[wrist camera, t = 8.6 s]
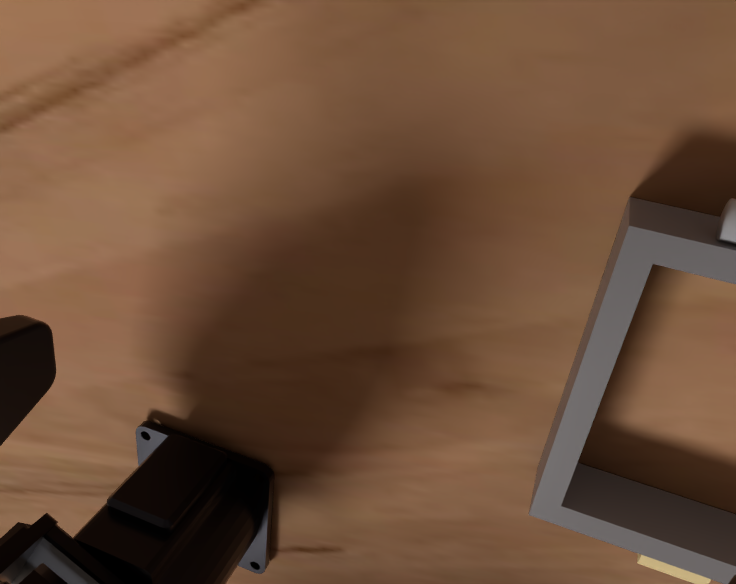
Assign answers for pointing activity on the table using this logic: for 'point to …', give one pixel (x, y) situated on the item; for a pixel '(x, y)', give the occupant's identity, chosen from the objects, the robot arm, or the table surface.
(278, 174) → the table surface
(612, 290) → the gray rectangular frame
